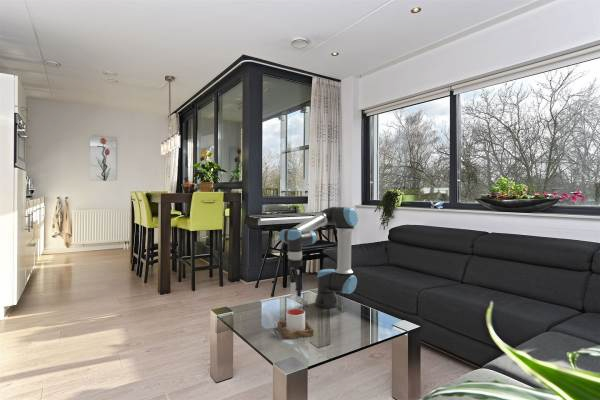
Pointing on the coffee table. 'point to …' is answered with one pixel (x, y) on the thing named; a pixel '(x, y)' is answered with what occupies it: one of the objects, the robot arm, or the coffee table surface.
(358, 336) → the coffee table surface
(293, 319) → the cup
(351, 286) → the robot arm
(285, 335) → the wooden tray
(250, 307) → the coffee table surface
